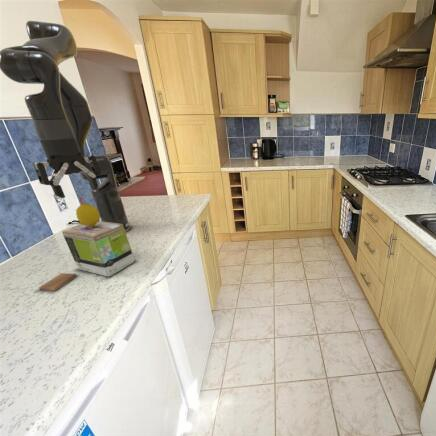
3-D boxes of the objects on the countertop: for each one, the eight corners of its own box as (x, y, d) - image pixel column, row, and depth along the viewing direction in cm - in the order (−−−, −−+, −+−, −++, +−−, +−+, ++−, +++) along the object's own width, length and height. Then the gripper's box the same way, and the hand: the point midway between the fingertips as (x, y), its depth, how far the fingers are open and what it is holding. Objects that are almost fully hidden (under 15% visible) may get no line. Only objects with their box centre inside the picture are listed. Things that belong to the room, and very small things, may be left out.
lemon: (89, 223, 80) (80, 200, 77) (107, 222, 81) (98, 199, 77) (77, 230, 75) (67, 206, 72) (96, 229, 76) (87, 205, 72)
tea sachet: (40, 290, 72) (38, 287, 72) (62, 275, 79) (61, 273, 78) (55, 290, 72) (53, 288, 71) (76, 276, 78) (75, 273, 78)
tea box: (136, 261, 86) (123, 223, 80) (108, 278, 77) (92, 236, 71) (106, 254, 90) (92, 218, 84) (77, 269, 82) (59, 230, 76)
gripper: (79, 134, 74) (97, 186, 81) (16, 139, 62) (43, 199, 69) (93, 135, 71) (111, 188, 78) (29, 140, 59) (56, 202, 66)
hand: (79, 193), depth 73 cm, fingers open, 8 cm apart
